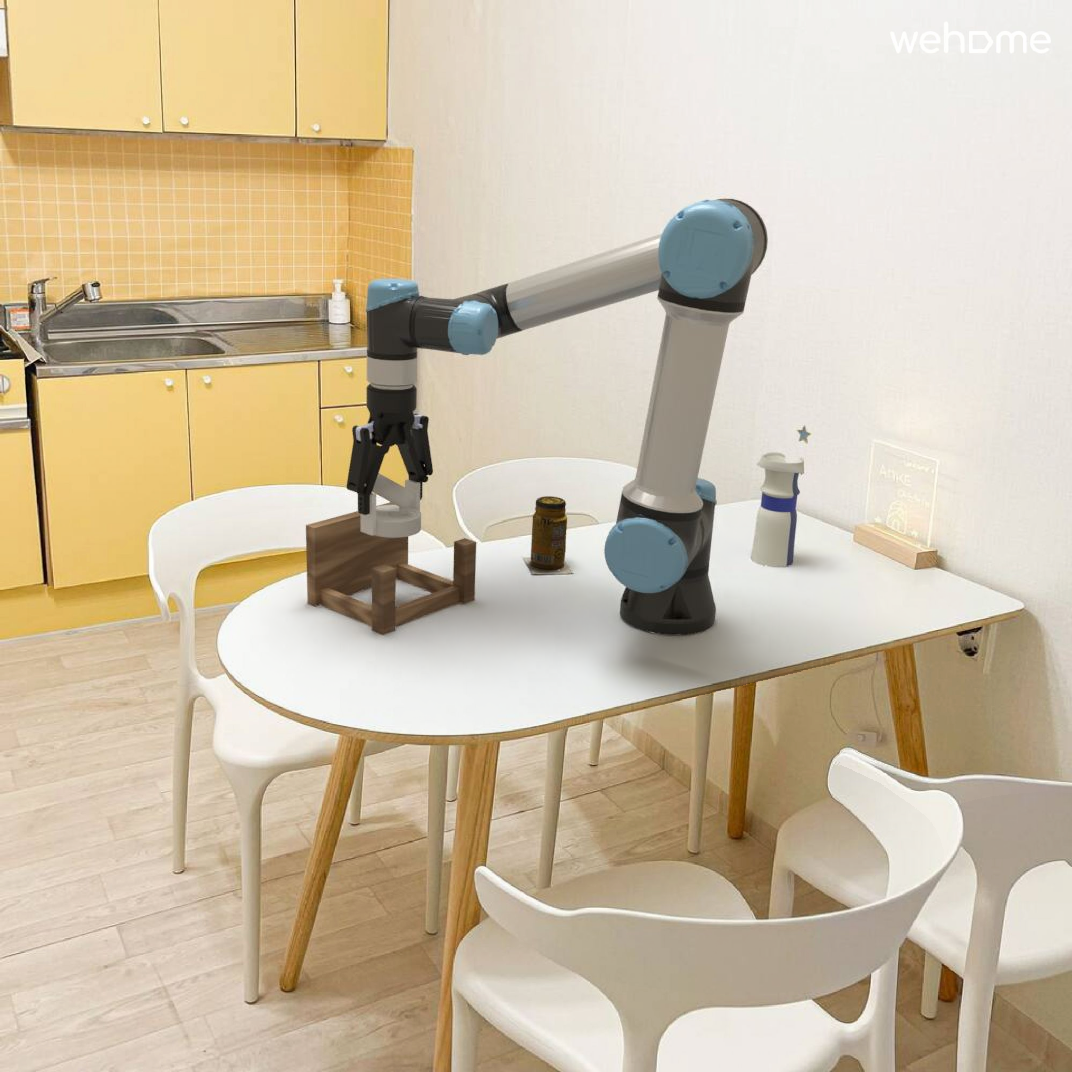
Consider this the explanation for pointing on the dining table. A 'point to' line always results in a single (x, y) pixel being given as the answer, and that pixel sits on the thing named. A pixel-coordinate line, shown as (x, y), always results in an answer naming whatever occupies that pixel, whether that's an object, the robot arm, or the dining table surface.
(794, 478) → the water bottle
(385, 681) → the dining table surface
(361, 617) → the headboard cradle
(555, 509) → the condiment
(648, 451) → the robot arm
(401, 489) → the wall hook
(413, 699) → the dining table surface
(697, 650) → the dining table surface
